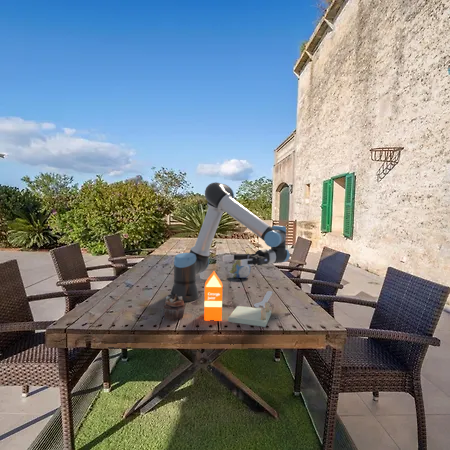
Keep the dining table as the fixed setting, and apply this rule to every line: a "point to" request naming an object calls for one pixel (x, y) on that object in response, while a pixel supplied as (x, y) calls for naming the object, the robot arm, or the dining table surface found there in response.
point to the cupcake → (174, 307)
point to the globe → (240, 270)
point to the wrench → (264, 300)
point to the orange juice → (213, 298)
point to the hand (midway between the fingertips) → (231, 260)
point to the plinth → (251, 315)
